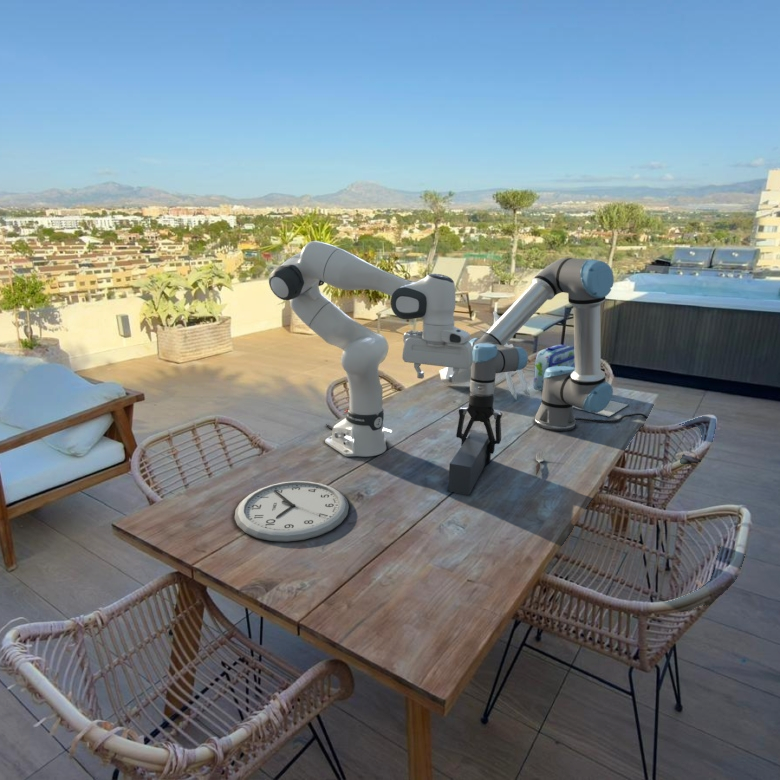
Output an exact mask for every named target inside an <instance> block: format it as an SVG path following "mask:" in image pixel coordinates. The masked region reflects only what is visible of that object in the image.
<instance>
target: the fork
mask: <svg viewBox="0 0 780 780" xmlns="http://www.w3.org/2000/svg"><path fill="white" fill-rule="evenodd" d="M545 453H546V451H544V452H543V453H541V452H539V451H537V452H536V457H535V461H536V462H537V464H536V466H535V475H536V476H537V475H538V473H539V471H540V469H541V463H542V462H544V461H545Z"/></svg>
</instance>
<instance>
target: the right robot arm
mask: <svg viewBox="0 0 780 780" xmlns="http://www.w3.org/2000/svg"><path fill="white" fill-rule="evenodd" d="M614 278H615V277H614V272H613V270H612V268H611V266H610V265H609V264H608V263H607V262H606V261H602V260H598V259H593V258H574V257H564V258H560V259H557V260H555V261H553V262H551V263H550V264H548V265H547V266H546V267H544V268H543V269H541V271H539V272H538V273H537V274H536V275H535V276H534V277H533V278H532V279H531V281H530V286H529V287H528V288H527V289H526V290H525V291H524V292H523V293H522V294H521V295H520V296H519V297H518V298H517V299H516V300H515V302H513V303H512V305H511V306H510V307H508V309H507V310H506V311H505V312H504V313H503V314H502V315H501V316H499V320H498V321H497V322H496V321H495V322H494V323H493V324H492V326H491V327H490V328H489V329H488V330H487V331H486V332H485V333H484V334H483V335H482V336H481V337H474V338H472V339H469V340H468V342H470V344H471V346H472V353H473V362H472V365H471V380H470V382H469V397H468V401H469V402H468V406H467V407H463V406H461V407H460V408H459V409H458V415H459V418H458V424H457V428H456V434H455V437H456V438H457V439H461V444H460V447H461V446H462V445H463V443H464V442H465V440H466V439H467V437H468V436H469V434H470V431H471V429H472V427H473V425H474V423H475V422H480V423H483V426H485V431H486V434H488V438H489V441H490V442H489V443H488V448H487V461H486V464H488V465H489V464H490V462H491V459H492V458H491V457H492V455H493V454H494V452H495V448H496V445H499V444H501V442H502V423H501V422H502V420H501V419H502V416H503V413H502V412H501V411H500V412H497V411H495V410H494V397H495V395H494V393H495V385H496V374H502V373H504V372H510V373H511V372H517V370H521V369H522V370H523V369H525V368H526V367H527V365H528V360H529V355H528V353H527V351H526V349H524V347H522V346H514V347H506V346H504V345H505V344H506V343H507V344H508V342H509V341H510V340H511V339H512V338H513V337H514V335H516V334H517V333H518V332H519V331H520V330H521V328H522V327H523V326H524V325H525V324H526V323H527V322H528V321H529V320H530V319H531V318H532V316H534V314H536V312H538V310H539V309H540V308H541V307H542V306H543V305H544V304H545V303H546V302H547V301H550V300H551V301H552V300H553V299H554V298H555V296H557V295H558V294H561V293H565V294H568V296H567V297H568V298H567V299H568V303H569V304H570V306H572V307H573V345H574V346H573V347H574V353H575V367H569V366H555V367H549V368H547V369H546V370H545V374H544V379H543V390H542V391H541V402H540V405H539V407H538V410H537V411H536V413H535V416H534V424H535V425H536V426H537V427H539V428H542V429H544V430H549V431H556V432H567V431H572V430H574V429H575V428H576V421H581V422H582V421H584V422H596V423H618V422H620V421H622V420H623V419H625V418H628V417H629V418H630V417H635V416H640V417H644V418H645V419H648V418H649V417H648V415H646V414H645V413H640V412H639V413H638V412H636V413H629V414H625V415H622V416H620V417H619V418H618V419H594V418H582V417H581V418H580V417H576V416H575V413H574V407H578V408H580V409H583V410H582V411H584V412H588V411H589V412H588V413H593V414H596V413H597V412H600V411H602V410H603V409H604V408H605V407H606V406H607V405H608V404H609V402H610V401H612V398H613V394H614V389H613V385H611V384H610V383H609V382H607V381H606V373H605V372H604V371H603V370H602V367H601V365H602V363H601V362H602V360H601V355H602V353H601V352H602V351H601V350H602V349H601V344H602V343H601V341H602V337H601V336H602V335H601V334H602V331H601V328H602V327H601V322H602V321H601V320H602V319H601V316H602V315H601V305H602V304H603V303H604V302H605V301H606V297H607V296H609V294H610V292H611V291H612V288H613V286H614V280H615V279H614ZM580 409H579V410H580ZM467 413H468V415H469V416H470V419H469V421H468V423H467V425H466V428H465V429H464V431H463V428H464V422H465V417H466V414H467ZM492 416H493V419H494V420H495V423H494V424H495V425H494V426H495V434H494V431H493V428H492V424H491V419H490V418H491V417H492Z"/></svg>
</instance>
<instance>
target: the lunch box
mask: <svg viewBox="0 0 780 780" xmlns="http://www.w3.org/2000/svg"><path fill="white" fill-rule="evenodd" d="M555 366H569V367H575V353H574V346H571V345H565V344H556V345H553V346H549V347H546V348H544V349H541V350H539V351H538V353H537V354H536V357H535V361H534V371H533V372H534V373H533V389H534V390H535V391H539V392H542V390H543V379H544V374H545V370H546V369H547V368H549V367H555Z"/></svg>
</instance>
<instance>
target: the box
mask: <svg viewBox="0 0 780 780" xmlns="http://www.w3.org/2000/svg"><path fill="white" fill-rule="evenodd" d="M466 438H467V439H466V440H465V442H464V443H463V445H462V446H461V445H460V448H459V449H458V451H457V452H456V454H455V455H454V456H453V457H452V459H451V461H450V462H449V467H448V469H449V470H448V487H447V492H451V493H455V494H461V495H466V496H470V495H471V493H472V491H473V489H474V487H475V485H476V483H477V481H478V479H479V477H480V475H481V474H482V472H483V470H484V468H485V466H486V464H487V463H486V461H487V448H488V443H489V442H490V441H489V438H488V434H487V433H484V432H477V431H471V432H469V433H468V435H467V437H466Z"/></svg>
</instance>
